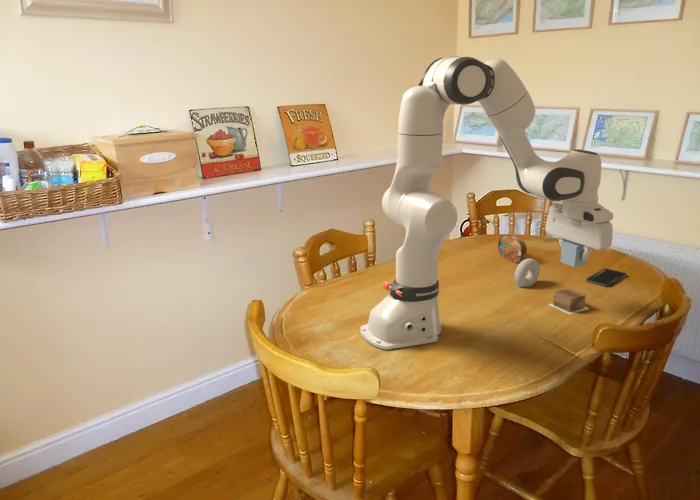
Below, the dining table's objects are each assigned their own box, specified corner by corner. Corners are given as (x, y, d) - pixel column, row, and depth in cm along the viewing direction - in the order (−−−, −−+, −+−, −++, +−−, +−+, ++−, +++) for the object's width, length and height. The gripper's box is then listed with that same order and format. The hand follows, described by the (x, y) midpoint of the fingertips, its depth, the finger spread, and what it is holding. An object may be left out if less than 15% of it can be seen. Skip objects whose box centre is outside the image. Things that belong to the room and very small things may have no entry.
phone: (585, 279, 182) (604, 268, 192) (584, 282, 183) (604, 271, 192) (609, 285, 177) (628, 273, 187) (609, 288, 177) (627, 276, 187)
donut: (519, 293, 174) (522, 263, 171) (511, 289, 177) (513, 260, 174) (540, 286, 179) (543, 257, 176) (531, 283, 182) (534, 254, 179)
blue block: (574, 267, 154) (576, 246, 152) (560, 262, 158) (562, 242, 156) (587, 264, 156) (589, 243, 154) (572, 259, 160) (575, 239, 158)
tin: (496, 253, 212) (498, 232, 209) (504, 252, 213) (505, 231, 210) (519, 266, 198) (521, 243, 196) (527, 264, 199) (529, 242, 196)
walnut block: (569, 312, 157) (570, 299, 156) (553, 304, 162) (554, 292, 161) (584, 308, 160) (585, 295, 158) (567, 300, 165) (569, 288, 163)
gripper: (542, 203, 159) (538, 248, 164) (602, 218, 142) (596, 269, 146) (558, 200, 162) (554, 245, 166) (619, 215, 145) (612, 265, 149)
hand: (574, 256), depth 156 cm, fingers closed on blue block, 5 cm apart
